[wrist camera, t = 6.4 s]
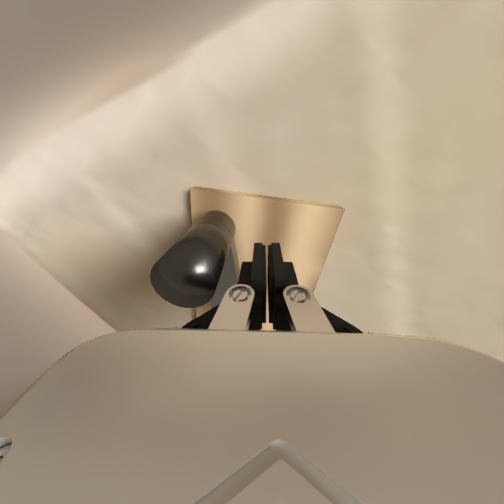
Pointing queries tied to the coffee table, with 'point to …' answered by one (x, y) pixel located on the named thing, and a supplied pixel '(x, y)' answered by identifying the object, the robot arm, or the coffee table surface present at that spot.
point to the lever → (199, 263)
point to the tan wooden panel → (274, 230)
